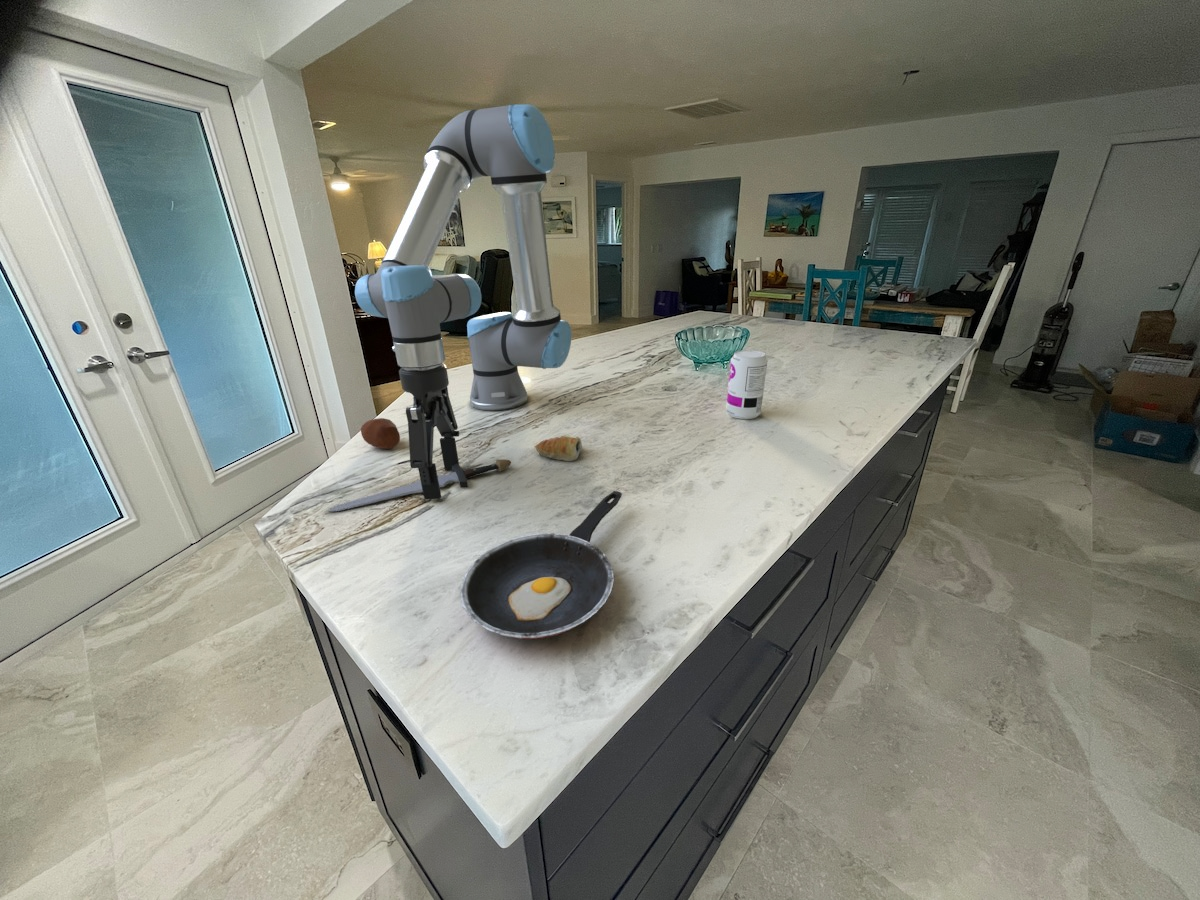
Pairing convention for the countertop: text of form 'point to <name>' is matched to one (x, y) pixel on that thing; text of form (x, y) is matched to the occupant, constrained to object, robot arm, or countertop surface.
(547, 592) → the frying pan
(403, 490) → the dagger
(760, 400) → the supplement can
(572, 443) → the pastry
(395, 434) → the potato
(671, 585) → the countertop surface
